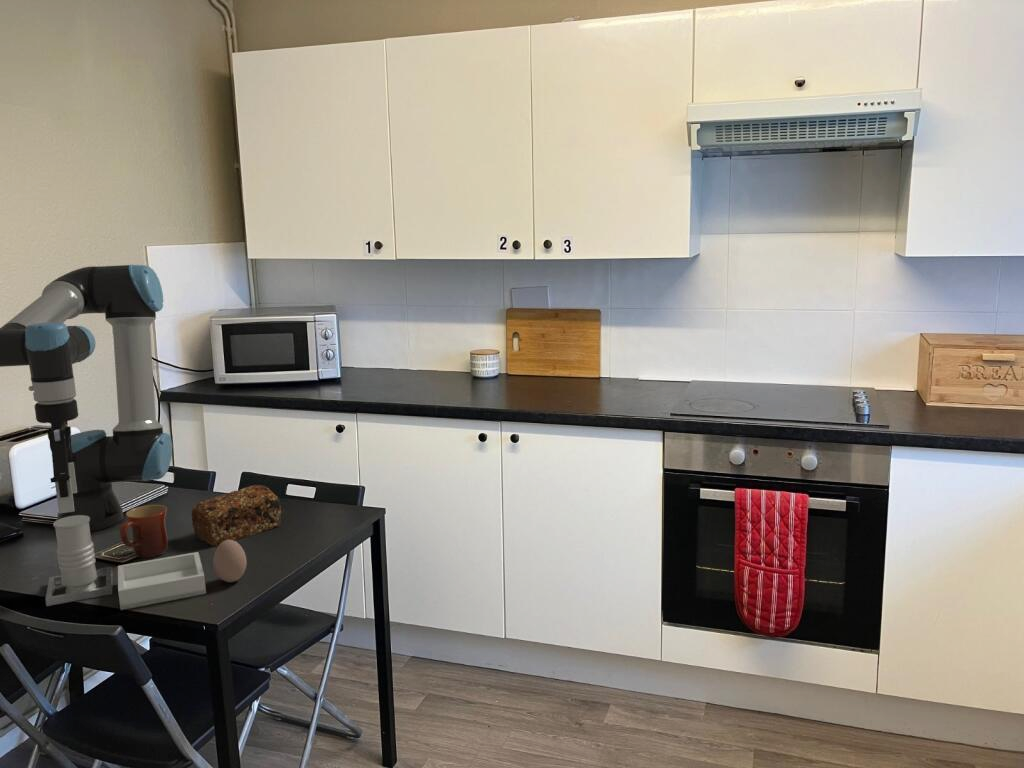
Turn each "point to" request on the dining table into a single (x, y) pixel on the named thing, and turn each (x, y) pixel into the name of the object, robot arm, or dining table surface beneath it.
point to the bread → (236, 515)
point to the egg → (229, 561)
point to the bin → (160, 580)
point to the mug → (146, 530)
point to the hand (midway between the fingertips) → (68, 502)
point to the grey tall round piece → (75, 553)
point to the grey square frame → (81, 594)
